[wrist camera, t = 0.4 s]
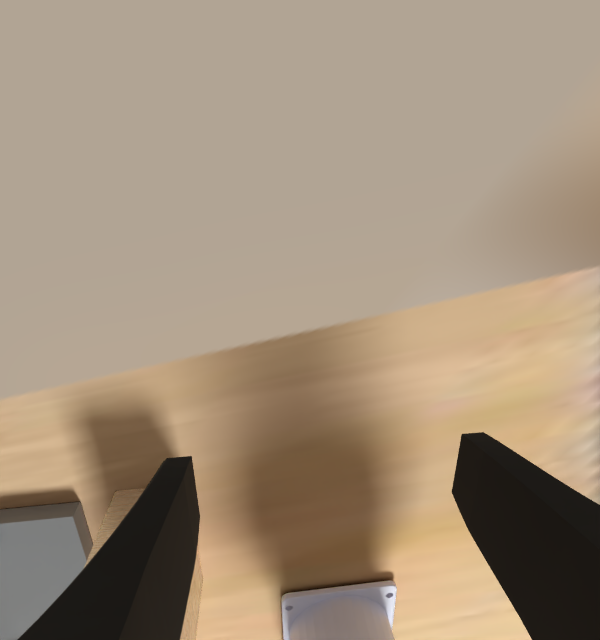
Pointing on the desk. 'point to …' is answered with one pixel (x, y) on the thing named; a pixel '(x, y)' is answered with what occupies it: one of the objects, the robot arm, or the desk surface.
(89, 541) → the pin tray
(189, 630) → the block
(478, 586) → the desk surface
